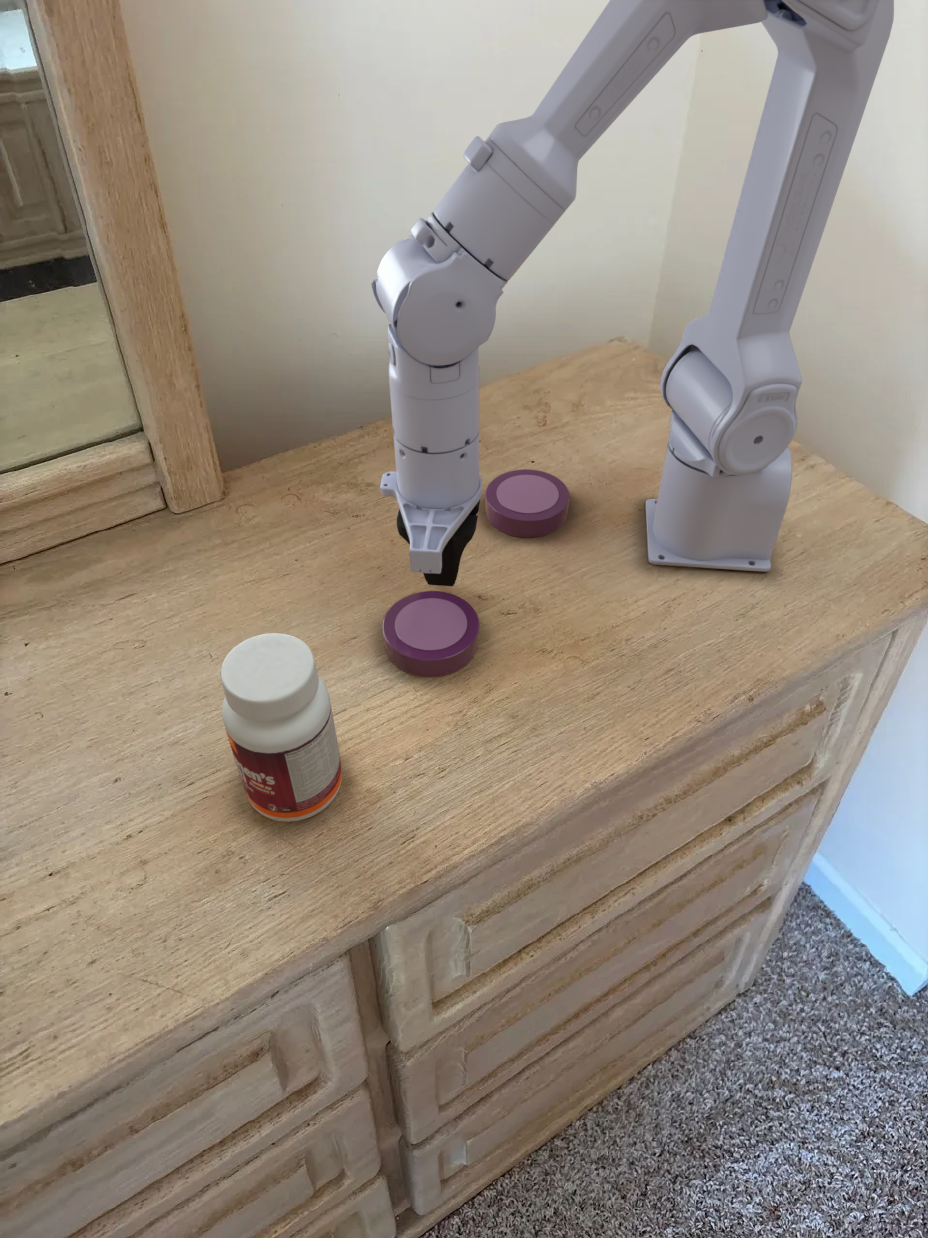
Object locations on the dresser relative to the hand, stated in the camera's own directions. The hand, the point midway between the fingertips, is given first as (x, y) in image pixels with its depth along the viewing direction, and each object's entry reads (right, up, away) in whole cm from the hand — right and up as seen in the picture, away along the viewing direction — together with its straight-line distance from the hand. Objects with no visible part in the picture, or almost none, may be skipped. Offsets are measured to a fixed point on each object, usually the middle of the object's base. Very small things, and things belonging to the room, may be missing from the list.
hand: (441, 579), depth 69 cm
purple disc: (-1, -5, -3) cm, 6 cm away
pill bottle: (-9, -14, -12) cm, 20 cm away
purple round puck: (+7, +6, +7) cm, 12 cm away
